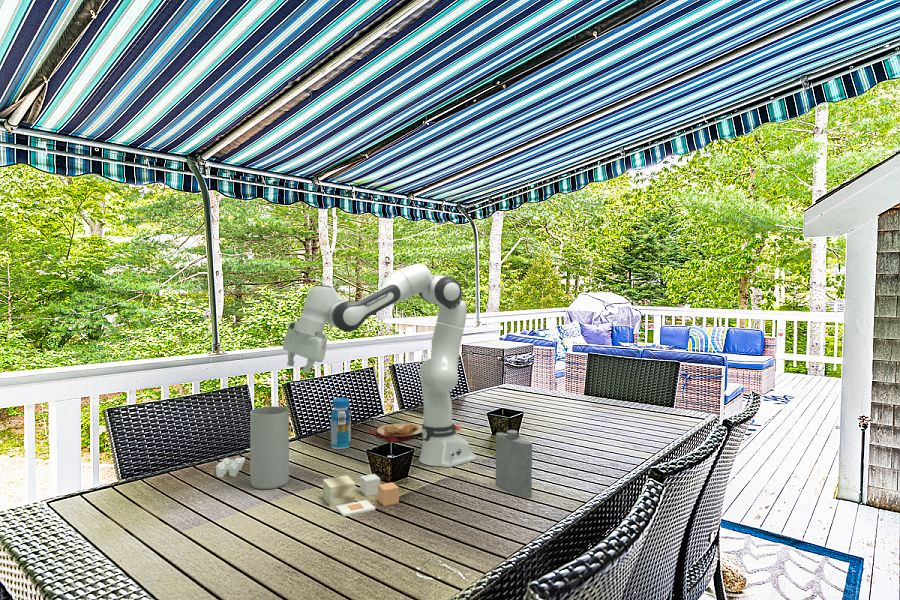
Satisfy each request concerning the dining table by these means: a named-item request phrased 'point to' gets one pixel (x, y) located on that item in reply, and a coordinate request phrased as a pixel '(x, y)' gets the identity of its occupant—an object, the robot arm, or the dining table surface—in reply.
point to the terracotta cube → (388, 494)
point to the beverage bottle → (340, 424)
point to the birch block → (338, 490)
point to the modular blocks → (229, 466)
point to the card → (355, 508)
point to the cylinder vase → (269, 447)
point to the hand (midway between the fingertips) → (297, 369)
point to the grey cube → (369, 484)
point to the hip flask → (514, 464)
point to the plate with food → (398, 431)
